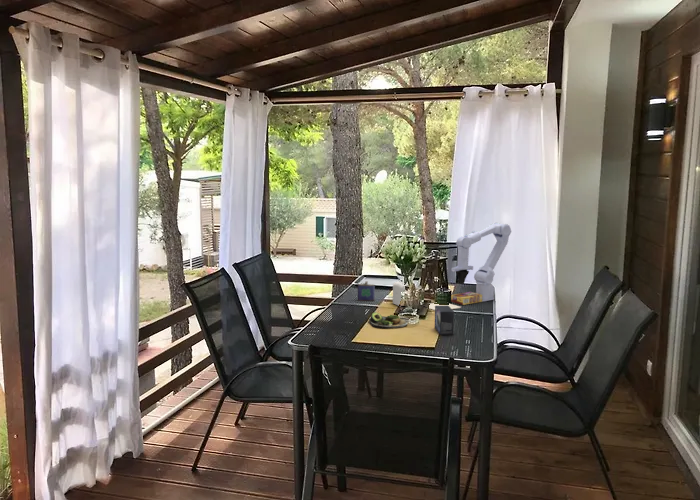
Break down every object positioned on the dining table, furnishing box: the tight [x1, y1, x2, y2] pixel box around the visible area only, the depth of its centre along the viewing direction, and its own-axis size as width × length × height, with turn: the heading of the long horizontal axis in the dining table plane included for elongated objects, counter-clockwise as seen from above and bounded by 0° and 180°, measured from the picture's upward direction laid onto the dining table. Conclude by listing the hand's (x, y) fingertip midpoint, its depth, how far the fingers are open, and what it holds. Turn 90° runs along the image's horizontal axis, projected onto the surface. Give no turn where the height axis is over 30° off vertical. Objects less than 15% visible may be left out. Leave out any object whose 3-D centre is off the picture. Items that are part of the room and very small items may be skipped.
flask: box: [357, 281, 376, 302], centre depth 294 cm, size 9×3×11 cm, turn 87°
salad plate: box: [368, 312, 410, 329], centre depth 250 cm, size 19×18×5 cm
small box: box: [434, 305, 455, 336], centre depth 238 cm, size 11×6×10 cm, turn 5°
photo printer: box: [392, 281, 407, 307], centre depth 284 cm, size 10×4×12 cm, turn 26°
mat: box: [429, 302, 462, 311], centre depth 283 cm, size 16×14×1 cm
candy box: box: [450, 291, 483, 306], centre depth 294 cm, size 9×4×15 cm
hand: (461, 283), depth 294 cm, fingers closed
